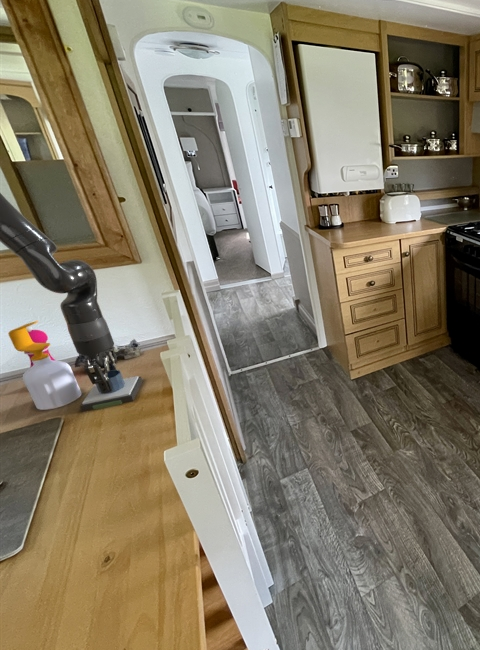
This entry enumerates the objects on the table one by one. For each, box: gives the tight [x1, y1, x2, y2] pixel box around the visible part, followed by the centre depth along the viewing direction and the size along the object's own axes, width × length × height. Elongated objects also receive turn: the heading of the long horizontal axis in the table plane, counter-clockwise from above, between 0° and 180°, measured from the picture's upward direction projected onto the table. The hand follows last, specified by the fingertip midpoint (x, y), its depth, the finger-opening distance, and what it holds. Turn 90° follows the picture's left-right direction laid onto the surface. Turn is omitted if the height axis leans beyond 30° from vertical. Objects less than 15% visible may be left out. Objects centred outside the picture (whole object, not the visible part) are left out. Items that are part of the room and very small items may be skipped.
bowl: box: [94, 369, 125, 394], centre depth 108 cm, size 6×6×4 cm
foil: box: [73, 338, 141, 368], centre depth 125 cm, size 12×11×15 cm
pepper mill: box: [23, 325, 57, 368], centre depth 110 cm, size 7×7×20 cm
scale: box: [79, 375, 144, 412], centre depth 109 cm, size 11×11×3 cm
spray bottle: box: [8, 320, 82, 411], centre depth 102 cm, size 9×9×25 cm
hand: (111, 385), depth 108 cm, fingers closed on bowl, 6 cm apart
